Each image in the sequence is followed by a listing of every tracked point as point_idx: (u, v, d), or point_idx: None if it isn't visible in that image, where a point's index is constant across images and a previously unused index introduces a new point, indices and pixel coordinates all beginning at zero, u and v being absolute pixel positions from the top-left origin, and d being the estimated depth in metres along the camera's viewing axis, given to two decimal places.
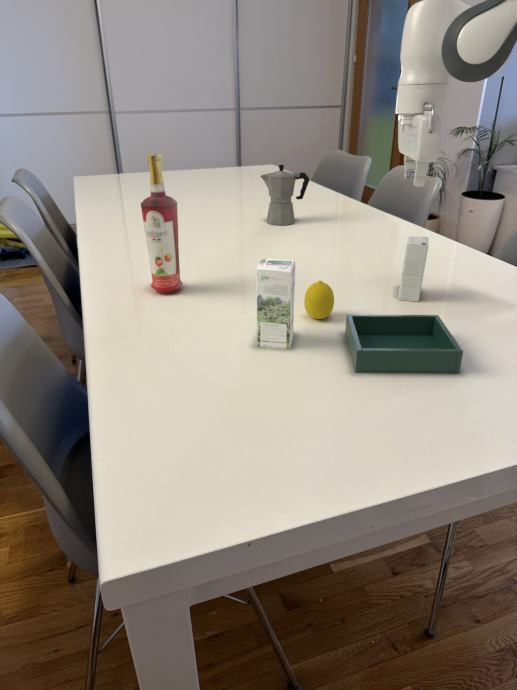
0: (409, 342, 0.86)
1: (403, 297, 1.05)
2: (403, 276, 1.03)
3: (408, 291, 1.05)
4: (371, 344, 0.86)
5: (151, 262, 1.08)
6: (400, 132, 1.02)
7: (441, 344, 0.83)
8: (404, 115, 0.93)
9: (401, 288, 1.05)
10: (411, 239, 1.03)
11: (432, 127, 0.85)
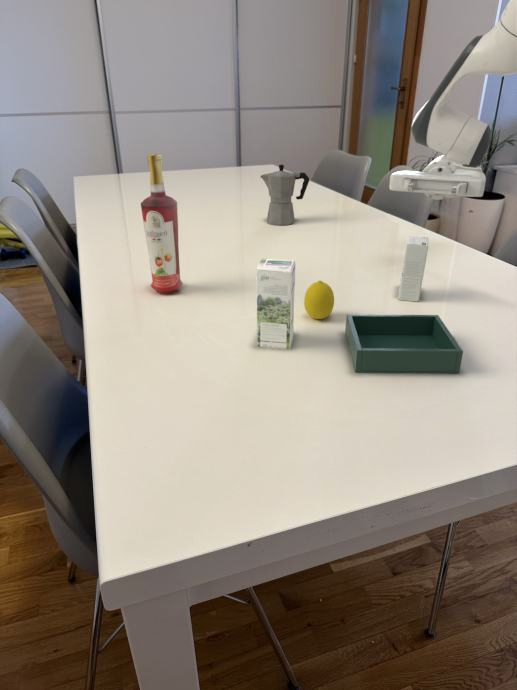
0: (409, 342, 0.86)
1: (403, 297, 1.06)
2: (403, 276, 1.03)
3: (408, 291, 1.05)
4: (371, 344, 0.86)
5: (151, 262, 1.08)
6: None
7: (441, 344, 0.83)
8: None
9: (401, 288, 1.05)
10: (411, 239, 1.03)
11: None
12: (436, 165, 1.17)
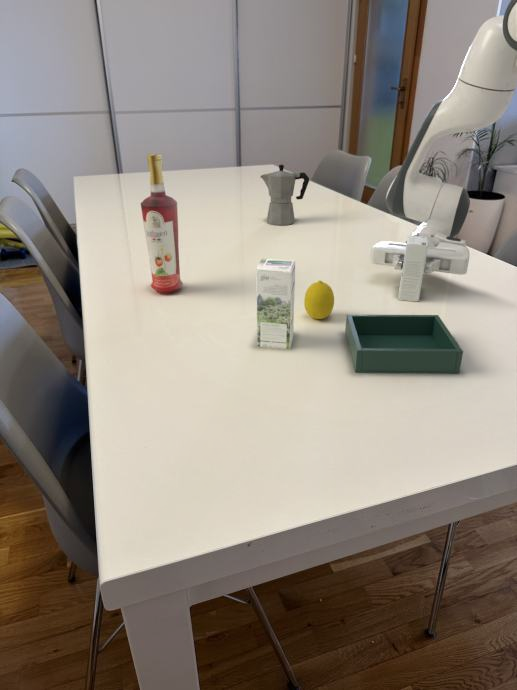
0: (409, 342, 0.86)
1: (403, 297, 1.06)
2: (403, 276, 1.03)
3: (408, 291, 1.05)
4: (371, 344, 0.86)
5: (151, 262, 1.08)
6: None
7: (441, 344, 0.83)
8: None
9: (401, 288, 1.05)
10: (411, 239, 1.03)
11: None
12: None
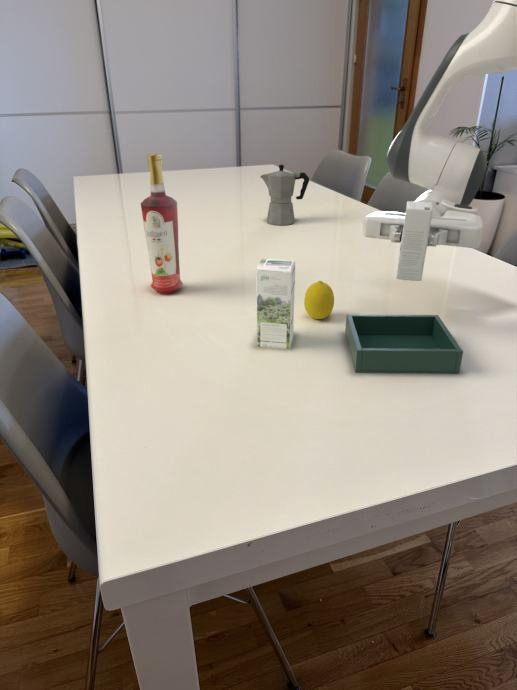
0: (409, 342, 0.86)
1: (402, 276, 0.86)
2: (401, 249, 0.84)
3: (409, 269, 0.85)
4: (371, 344, 0.86)
5: (151, 262, 1.08)
6: None
7: (441, 344, 0.83)
8: None
9: (399, 265, 0.85)
10: (411, 204, 0.83)
11: None
12: None
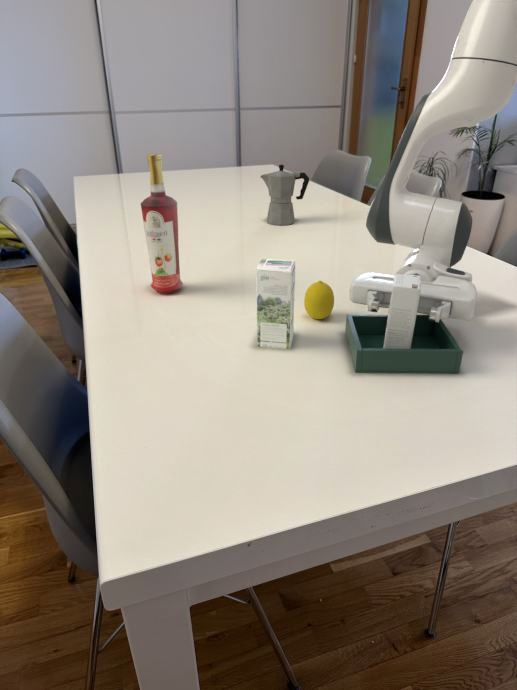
0: None
1: None
2: (388, 326, 0.79)
3: (395, 346, 0.80)
4: (371, 344, 0.86)
5: (151, 262, 1.08)
6: None
7: (441, 344, 0.83)
8: None
9: (386, 342, 0.81)
10: (399, 279, 0.79)
11: None
12: (412, 268, 0.88)
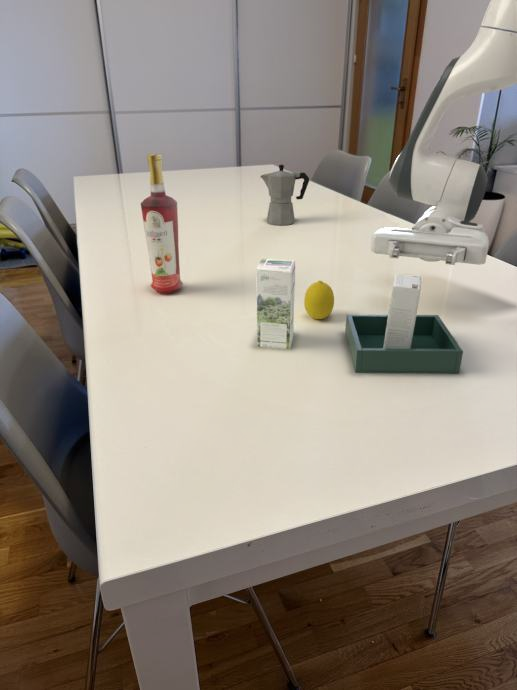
0: None
1: None
2: (388, 326, 0.79)
3: (395, 346, 0.80)
4: (371, 344, 0.86)
5: (151, 262, 1.08)
6: None
7: (441, 344, 0.83)
8: None
9: (386, 342, 0.81)
10: (399, 279, 0.79)
11: None
12: (428, 222, 0.96)
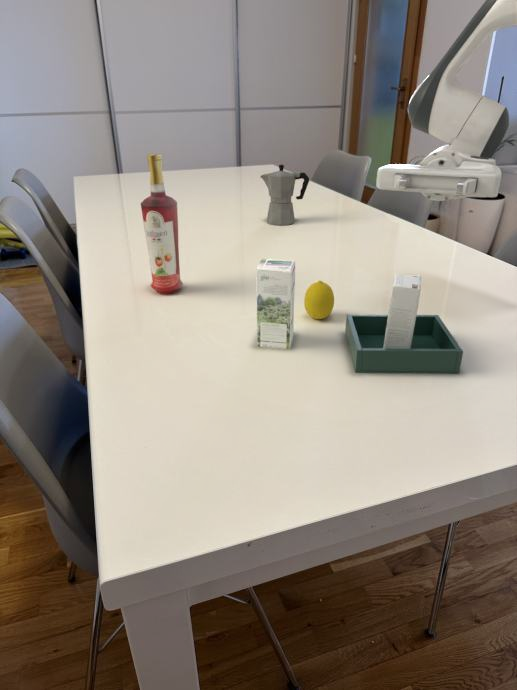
0: None
1: None
2: (388, 326, 0.79)
3: (395, 346, 0.80)
4: (371, 344, 0.86)
5: (151, 262, 1.08)
6: None
7: (441, 344, 0.83)
8: None
9: (386, 342, 0.81)
10: (399, 279, 0.79)
11: None
12: (436, 157, 0.91)
